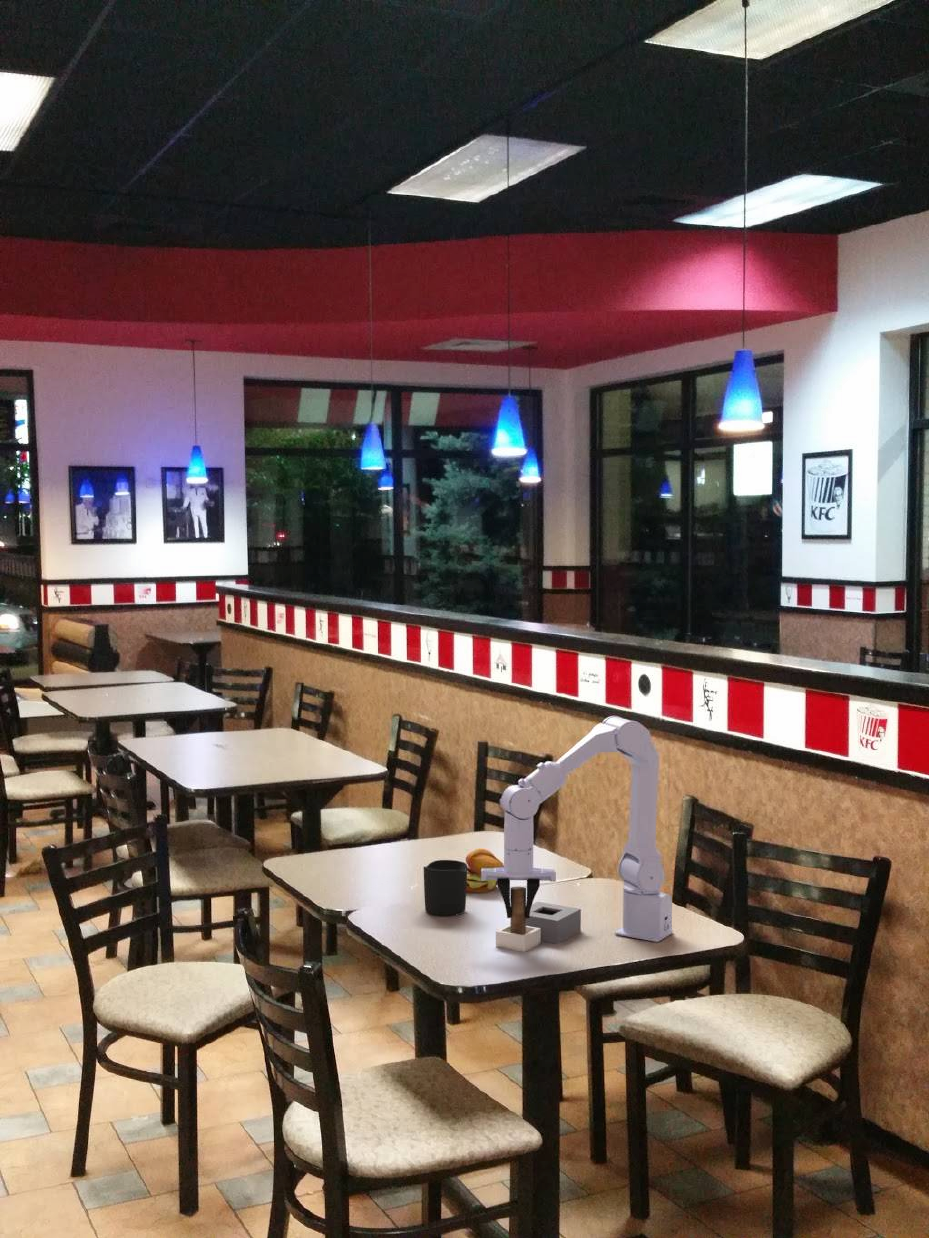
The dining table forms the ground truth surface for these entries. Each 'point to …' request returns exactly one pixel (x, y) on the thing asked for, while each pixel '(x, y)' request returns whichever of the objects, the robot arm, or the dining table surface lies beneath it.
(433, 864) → the pen holder
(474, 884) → the cheeseburger
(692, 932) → the dining table surface
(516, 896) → the brown wooden cylinder
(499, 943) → the box
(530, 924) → the box
